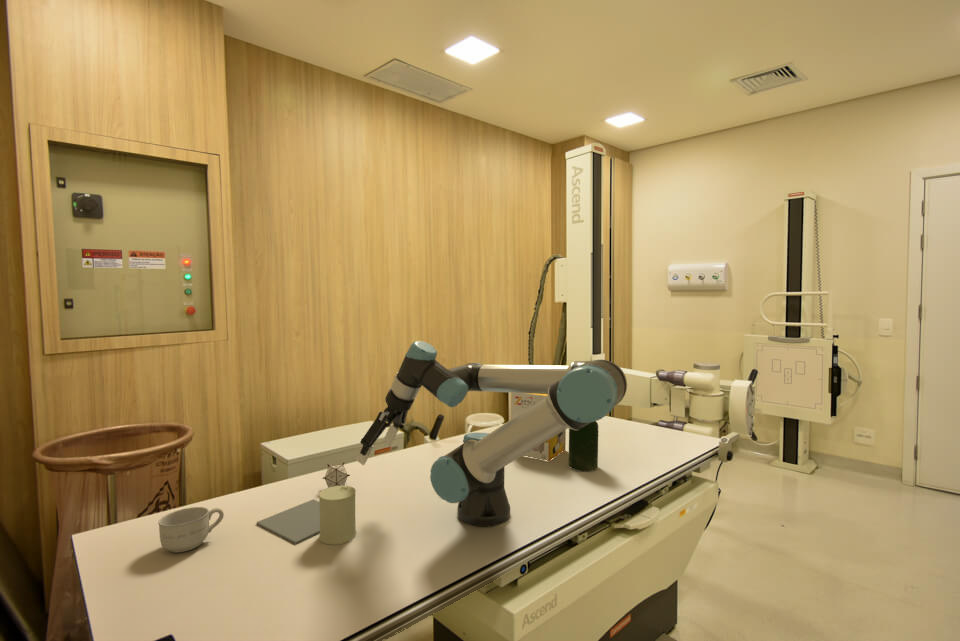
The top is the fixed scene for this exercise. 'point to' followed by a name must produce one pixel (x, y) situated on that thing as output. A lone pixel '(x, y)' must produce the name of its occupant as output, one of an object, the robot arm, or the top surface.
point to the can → (337, 515)
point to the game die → (336, 475)
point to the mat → (295, 522)
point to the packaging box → (550, 446)
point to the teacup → (186, 528)
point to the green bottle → (584, 447)
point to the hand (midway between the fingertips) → (373, 452)
